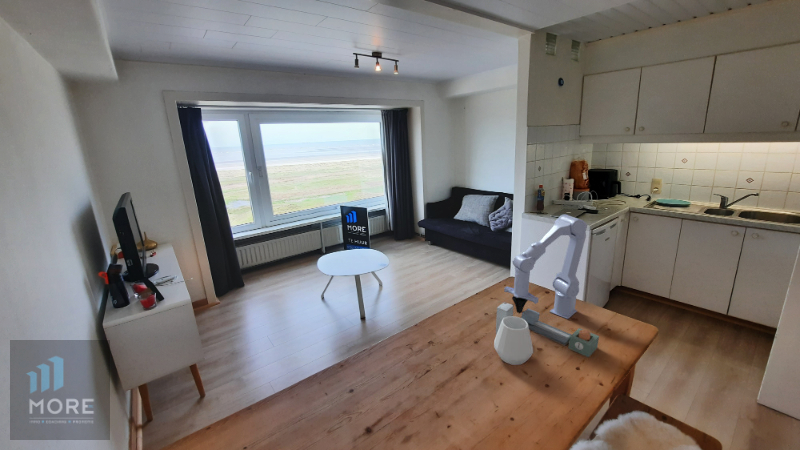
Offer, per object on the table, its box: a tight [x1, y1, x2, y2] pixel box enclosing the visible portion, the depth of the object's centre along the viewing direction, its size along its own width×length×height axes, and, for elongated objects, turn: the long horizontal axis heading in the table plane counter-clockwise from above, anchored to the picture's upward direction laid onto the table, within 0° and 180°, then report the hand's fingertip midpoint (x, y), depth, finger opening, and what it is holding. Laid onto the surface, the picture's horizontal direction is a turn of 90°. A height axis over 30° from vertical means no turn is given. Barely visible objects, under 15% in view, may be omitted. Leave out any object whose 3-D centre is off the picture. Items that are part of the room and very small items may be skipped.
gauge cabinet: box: [568, 327, 600, 358], centre depth 120 cm, size 8×7×5 cm
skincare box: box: [495, 301, 514, 335], centre depth 130 cm, size 6×4×12 cm
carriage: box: [521, 308, 540, 325], centre depth 135 cm, size 5×5×4 cm
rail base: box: [520, 315, 572, 347], centre depth 131 cm, size 7×20×2 cm, turn 40°
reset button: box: [579, 329, 591, 342], centre depth 119 cm, size 4×4×4 cm
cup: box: [493, 315, 534, 366], centre depth 116 cm, size 13×13×14 cm
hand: (519, 312), depth 139 cm, fingers closed
